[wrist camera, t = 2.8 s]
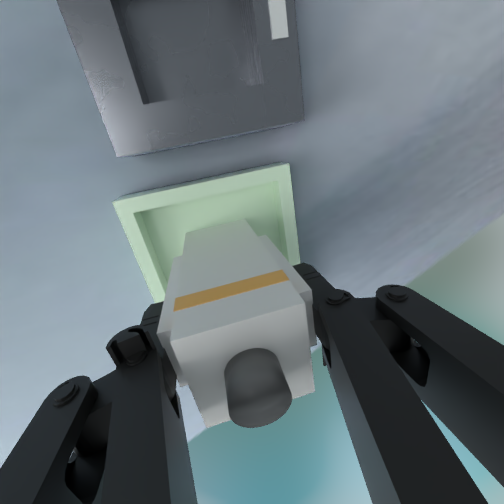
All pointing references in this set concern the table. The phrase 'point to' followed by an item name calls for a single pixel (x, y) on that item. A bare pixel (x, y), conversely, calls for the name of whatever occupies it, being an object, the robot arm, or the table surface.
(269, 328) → the plug
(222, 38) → the grey slotted holder
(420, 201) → the table surface
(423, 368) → the robot arm
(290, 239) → the tray
